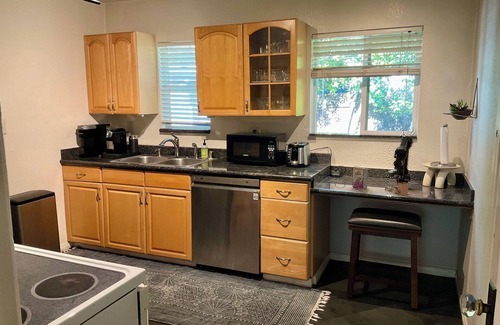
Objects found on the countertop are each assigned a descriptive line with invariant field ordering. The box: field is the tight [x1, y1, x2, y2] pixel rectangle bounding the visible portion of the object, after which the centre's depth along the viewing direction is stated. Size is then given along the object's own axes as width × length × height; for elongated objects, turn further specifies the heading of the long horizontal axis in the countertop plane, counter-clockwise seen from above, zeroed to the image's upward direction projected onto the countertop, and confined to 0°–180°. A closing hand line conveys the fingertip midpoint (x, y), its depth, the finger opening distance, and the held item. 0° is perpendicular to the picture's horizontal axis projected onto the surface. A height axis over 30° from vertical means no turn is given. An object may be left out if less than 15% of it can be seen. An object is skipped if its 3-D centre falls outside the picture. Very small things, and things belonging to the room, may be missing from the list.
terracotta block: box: [397, 182, 409, 196], centre depth 288 cm, size 5×5×8 cm
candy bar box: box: [352, 166, 369, 190], centre depth 311 cm, size 11×5×16 cm, turn 31°
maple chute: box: [384, 184, 400, 195], centre depth 296 cm, size 16×8×4 cm, turn 14°
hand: (398, 186), depth 292 cm, fingers closed
